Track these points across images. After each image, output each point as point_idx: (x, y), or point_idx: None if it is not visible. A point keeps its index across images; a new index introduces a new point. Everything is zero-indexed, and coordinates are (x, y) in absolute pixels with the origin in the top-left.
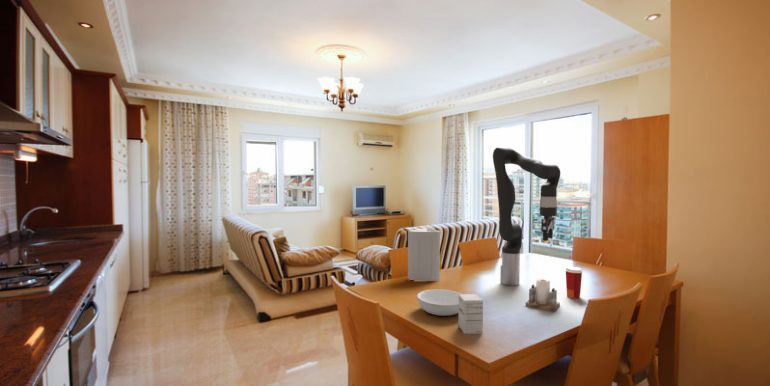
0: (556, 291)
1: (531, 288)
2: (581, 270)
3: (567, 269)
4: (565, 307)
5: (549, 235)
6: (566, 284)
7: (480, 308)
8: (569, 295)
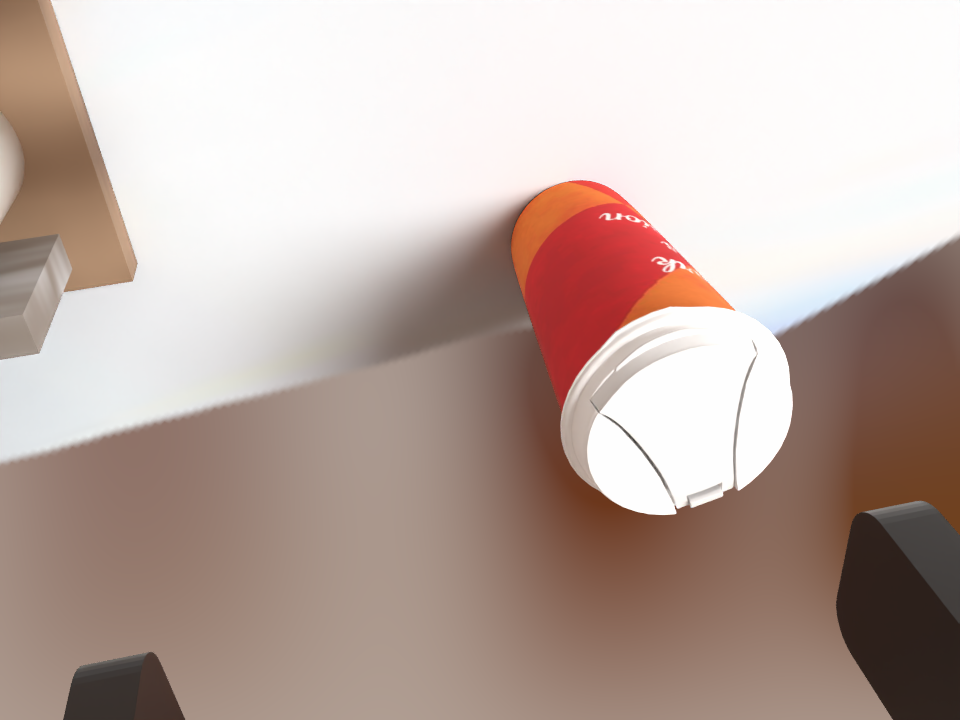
0: (28, 347)
1: None
2: (667, 509)
3: (610, 381)
4: (140, 318)
5: (915, 643)
6: (575, 246)
7: None
8: (518, 235)
